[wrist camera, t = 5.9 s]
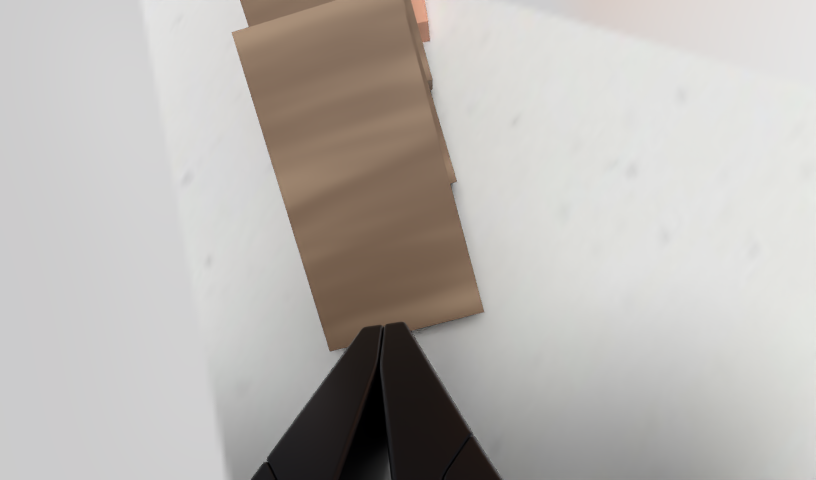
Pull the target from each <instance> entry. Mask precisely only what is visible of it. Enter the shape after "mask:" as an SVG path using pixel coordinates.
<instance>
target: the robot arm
mask: <svg viewBox="0 0 816 480" xmlns="http://www.w3.org/2000/svg"><path fill="white" fill-rule="evenodd" d="M251 480H503V479H502V478H501V476H500V475H499V473H498V472H497V470H496V469H495V467H494V466H493V464H492V463H491V461H490V459H489V458H488V456H487V455H486V453H485V452H484V450H483V449H482V447H481V445H480V444H479V442H478V440H477V439H476V437H475V436H473V433H472V431H471V429H470V428H469V426H468V424H467V423H466V421H465V419H464V418H463V416H462V415H461V413H460V411H459V410H458V408H457V406H456V405H455V403H454V401H453V400H452V398H451V396H450V395H449V393H448V392H447V390H446V388H445V387H444V385H443V383H442V382H441V380H440V378H439V377H438V375H437V373H436V372H435V370H434V369H433V367H432V365H431V364H430V362H429V360H428V359H427V357H426V355H425V354H424V352H423V350H422V349H421V347H420V345H419V344H418V342H417V341H416V339H415V337H414V336H413V334H412V332H411V331H410V329H409V327H408V326H407V324H406V323H405V322H395V323H388V324H386V325H385V326H383V325H374V326H367V327H363V328H362V329H361V330H360V332H359V333H358V334H357V336H356V337H355V338H354V340H353V341H352V343H351V344H350V345H349V347H348V348H347V349H346V351H345V352H344V353H343V355H342V356H341V358H340V359H339V360H338V362H337V363H336V364H335V366H334V367H333V369H332V370H331V371H330V373H329V374H328V375H327V377H326V378H325V379H324V381H323V382H322V384H321V385H320V386H319V388H318V389H317V390H316V392H315V393H314V394H313V396H312V397H311V399H310V400H309V401H308V403H307V404H306V405H305V407H304V408H303V410H302V411H301V412H300V414H299V415H298V416H297V418H296V419H295V420H294V422H293V423H292V425H291V426H290V427H289V429H288V430H287V431H286V433H285V434H284V435H283V437H282V438H281V440H280V441H279V442H278V444H277V445H276V446H275V448H274V449H273V451H272V452H271V453H270V455H269V456H268V457H267V462H264V463H263V464H262V465H261V467H260V468H259V469H258V471H257V472H256V473H255V475H254V476H253V478H252V479H251Z"/></svg>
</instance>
